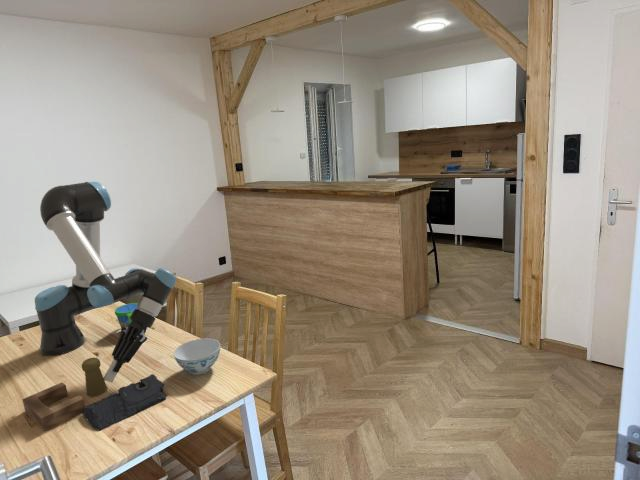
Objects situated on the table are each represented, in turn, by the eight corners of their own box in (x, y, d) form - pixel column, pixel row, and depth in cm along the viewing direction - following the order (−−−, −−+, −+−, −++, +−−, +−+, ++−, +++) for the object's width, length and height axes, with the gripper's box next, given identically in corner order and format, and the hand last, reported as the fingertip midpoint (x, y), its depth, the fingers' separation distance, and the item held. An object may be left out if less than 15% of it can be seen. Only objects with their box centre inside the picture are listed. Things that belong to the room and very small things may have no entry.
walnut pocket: (64, 393, 140) (62, 382, 139) (85, 410, 129) (83, 398, 128) (25, 411, 132) (22, 399, 131) (44, 431, 121) (41, 418, 120)
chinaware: (168, 372, 147) (164, 351, 146) (207, 354, 158) (204, 334, 156) (192, 387, 137) (189, 364, 135) (232, 366, 148) (229, 345, 146)
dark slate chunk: (78, 413, 129) (75, 398, 128) (151, 380, 144) (149, 367, 143) (96, 435, 118) (92, 420, 117) (173, 398, 133) (170, 384, 132)
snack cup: (146, 334, 179) (142, 311, 177) (118, 340, 175) (113, 317, 173) (145, 320, 193) (141, 299, 191) (119, 326, 189) (114, 304, 187)
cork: (98, 397, 136) (90, 365, 133) (82, 396, 137) (74, 364, 135) (111, 386, 141) (105, 355, 139) (96, 385, 143) (89, 354, 140)
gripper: (164, 321, 147) (127, 390, 139) (144, 313, 155) (107, 378, 147) (147, 312, 141) (106, 383, 133) (127, 304, 150) (88, 371, 142)
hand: (107, 380), depth 140 cm, fingers closed
